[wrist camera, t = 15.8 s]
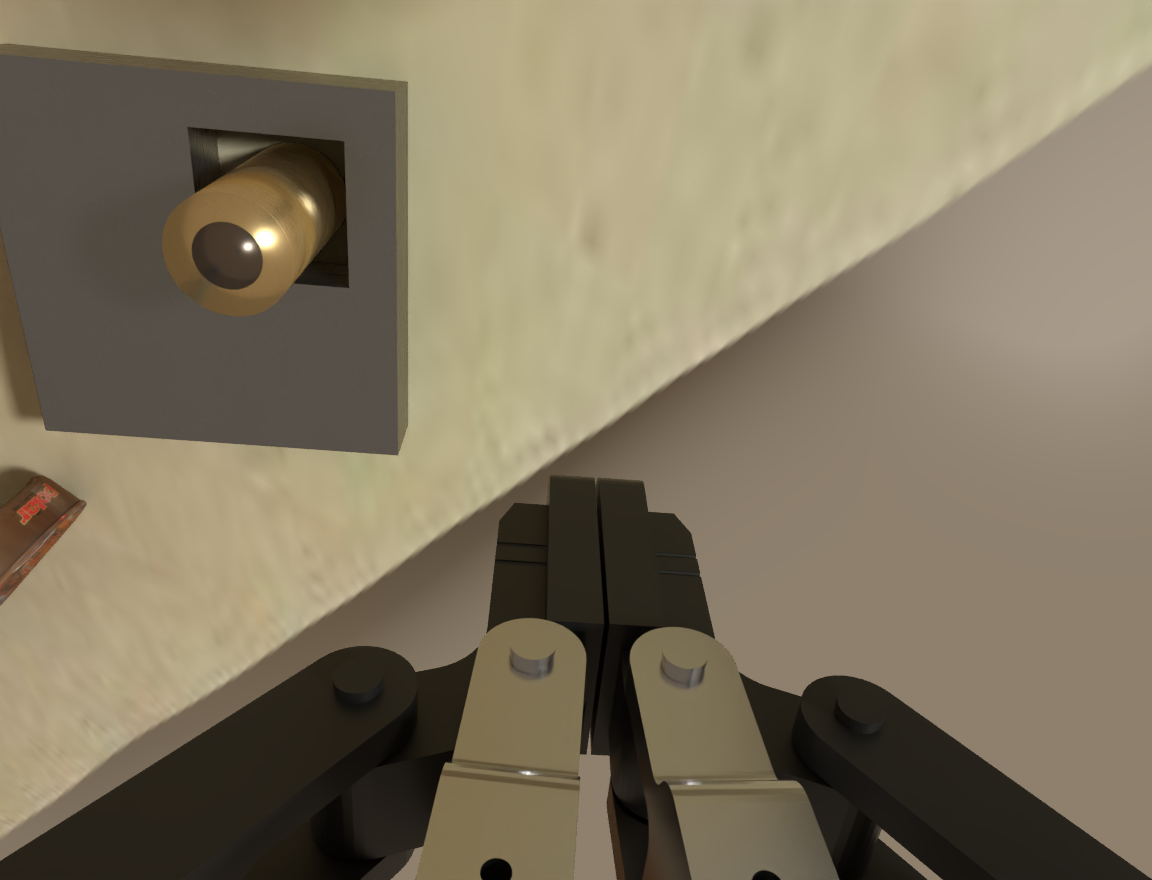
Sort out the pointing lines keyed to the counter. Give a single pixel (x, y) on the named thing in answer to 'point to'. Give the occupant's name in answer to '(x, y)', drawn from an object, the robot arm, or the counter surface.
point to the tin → (32, 528)
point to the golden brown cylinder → (254, 229)
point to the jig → (139, 273)
